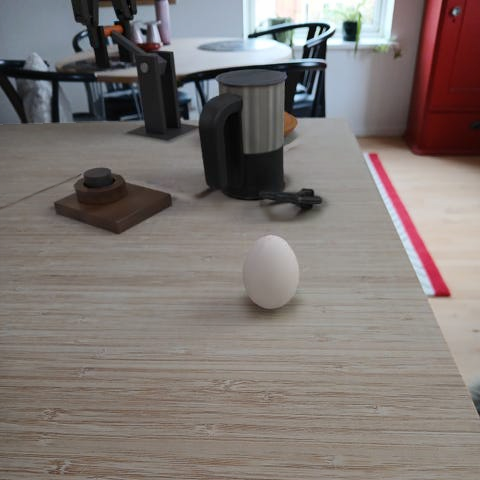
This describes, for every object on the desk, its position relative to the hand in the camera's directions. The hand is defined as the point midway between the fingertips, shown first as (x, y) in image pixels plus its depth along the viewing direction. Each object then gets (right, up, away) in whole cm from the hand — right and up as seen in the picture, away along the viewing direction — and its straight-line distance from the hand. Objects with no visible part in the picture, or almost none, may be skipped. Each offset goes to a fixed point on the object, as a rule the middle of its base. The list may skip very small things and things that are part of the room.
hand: (115, 64), depth 93 cm
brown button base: (+6, -31, -24) cm, 40 cm away
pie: (+25, -16, -4) cm, 30 cm away
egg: (+26, -45, -43) cm, 68 cm away
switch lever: (+4, 0, -3) cm, 5 cm away
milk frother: (+27, -30, -22) cm, 46 cm away
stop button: (+4, -28, -25) cm, 38 cm away
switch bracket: (+9, -12, +2) cm, 15 cm away
